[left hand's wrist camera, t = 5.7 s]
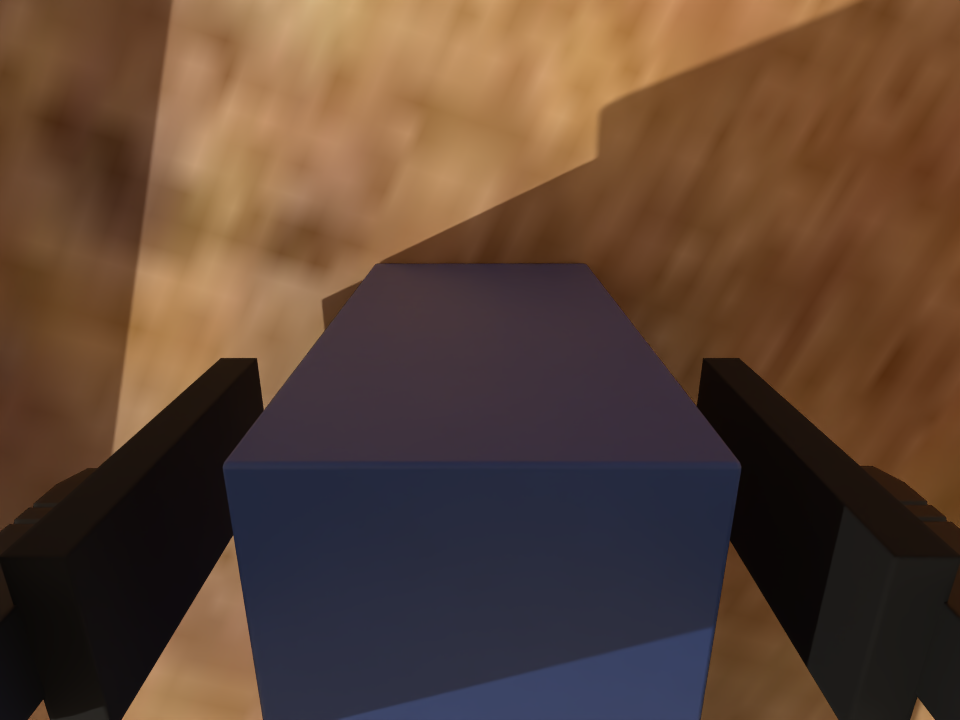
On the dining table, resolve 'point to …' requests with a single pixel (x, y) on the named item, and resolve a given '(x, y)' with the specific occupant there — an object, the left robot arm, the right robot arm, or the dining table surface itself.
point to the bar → (481, 509)
